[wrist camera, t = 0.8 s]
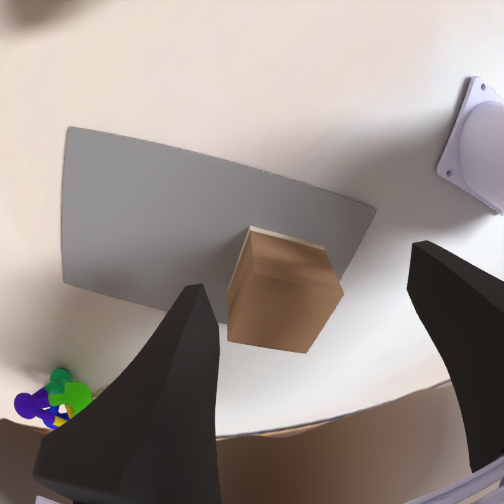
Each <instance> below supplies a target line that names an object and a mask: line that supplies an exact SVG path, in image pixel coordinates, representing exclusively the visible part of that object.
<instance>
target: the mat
mask: <svg viewBox="0 0 504 504" xmlns="http://www.w3.org/2000/svg"><path fill="white" fill-rule="evenodd" d="M376 211H377V210H376V209H375V208H373V207H370V206H367V205H365V204H362V203H359V202H356V201H354V200H351V199H348V198H345V197H343V196H340V195H337V194H334V193H331V192H328V191H325V190H322V189H319V188H316V187H313V186H310V185H307V184H304V183H301V182H298V181H295V180H292V179H289V178H286V177H282V176H279V175H276V174H273V173H269V172H266V171H263V170H259V169H256V168H252V167H249V166H245V165H242V164H238V163H235V162H231V161H227V160H224V159H220V158H216V157H213V156H209V155H205V154H201V153H197V152H193V151H189V150H185V149H181V148H177V147H172V146H168V145H164V144H159V143H155V142H150V141H146V140H141V139H136V138H131V137H126V136H121V135H116V134H111V133H106V132H100V131H95V130H89V129H83V128H77V127H71V126H70V127H68V131H67V139H66V148H65V158H64V170H63V186H62V216H61V234H62V264H63V280H64V283H67V284H70V285H73V286H76V287H80V288H83V289H87V290H90V291H93V292H97V293H100V294H104V295H108V296H111V297H115V298H118V299H122V300H126V301H130V302H134V303H137V304H141V305H145V306H149V307H153V308H157V309H161V310H166V311H169V310H170V308H171V307H172V305H173V304H174V302H175V301H176V299H177V298H178V296H179V295H180V293H181V292H182V290H183V289H184V287H185V286H188V285H194V284H200V283H203V285H204V288H205V291H206V293H207V296H208V299H209V302H210V304H211V307H212V310H213V312H214V315H215V318H216V321H217V322H219V323H224V324H228V287H229V284H230V281H231V278H232V275H233V272H234V270H235V267H236V264H237V261H238V258H239V255H240V252H241V250H242V247H243V244H244V241H245V238H246V235H247V233H248V230H249V227H250V226H253V227H257V228H261V229H264V230H268V231H272V232H276V233H279V234H283V235H287V236H290V237H294V238H298V239H301V240H305V241H309V242H312V243H316V244H319V245H323V247H324V249H325V252H326V254H327V256H328V258H329V261H330V263H331V265H332V267H333V269H334V272H335V274H336V276H337V279H338V281H340V279H341V277H342V275H343V274H344V272H345V270H346V268H347V266H348V265H349V263H350V261H351V259H352V257H353V255H354V253H355V252H356V250H357V248H358V246H359V244H360V242H361V240H362V238H363V236H364V234H365V233H366V231H367V229H368V227H369V225H370V223H371V221H372V219H373V217H374V215H375V213H376Z"/></svg>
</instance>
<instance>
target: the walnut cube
mask: <svg viewBox="0 0 504 504" xmlns="http://www.w3.org/2000/svg"><path fill="white" fill-rule="evenodd" d="M343 295H344V292H343V290H342V288H341V285H340V283H339V281H338V279H337V276H336V274H335V272H334V269H333V267H332V265H331V263H330V261H329V258H328V256H327V254H326V252H325V249H324V247H323V245H319V244H316V243H312V242H309V241H305V240H301V239H298V238H294V237H290V236H287V235H283V234H279V233H276V232H272V231H268V230H264V229H261V228H257V227H253V226H250V227H249V230H248V233H247V235H246V238H245V241H244V244H243V247H242V250H241V252H240V255H239V258H238V261H237V264H236V267H235V270H234V272H233V275H232V278H231V281H230V284H229V287H228V328H227V341H230V342H235V343H241V344H246V345H252V346H258V347H264V348H270V349H277V350H283V351H290V352H297V353H305V354H306V353H307V352H308V350H309V349H310V347H311V346H312V344H313V342H314V341H315V339H316V338H317V336H318V335H319V333H320V332H321V330H322V329H323V327H324V325H325V324H326V322H327V321H328V319H329V317H330V316H331V314H332V313H333V311H334V309H335V308H336V306H337V305H338V303H339V301H340V300H341V298H342V296H343Z"/></svg>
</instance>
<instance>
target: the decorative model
mask: <svg viewBox="0 0 504 504" xmlns="http://www.w3.org/2000/svg"><path fill="white" fill-rule="evenodd" d="M50 381H51V382H50V383H48V384H47V385H45V386H44V387H43V388H41V389H40V390H38V391H37V392H36V393H34V394H33V395H30V394H28V393H20V394H18V395H17V396H16V398H15V400H14V407H15V410H16V412H17V413H18V414H19V415H20V416H21V417H23V418H26V419H32V418H34V417H35V416H37V417H39V418H41V419H42V420H43V422H44V424H45V425H46V426H47V427H49V428H51V429H57V428H58V427H60V426H61V425H63V424H64V423H66V422H67V421H68V420H70V419H71V418H72V417H74V416H75V415H76V414H78V413H79V412H80V411H81V410H83V409H84V408H85V407H86V406H88V405H89V404H90V403H91V402H92V401H93V400H92V394H91V391H90V389H89V388H88V386H87V385H85V384H84V383H82V382H78V381H74V382H72V377H71V375H70V374H69V372H67V371H66V370H64V369H60V368H59V369H55V370H54V371H53V372H52V373H51V376H50ZM53 392H54V393H53ZM52 393H53V395H51V396H49V395H50V394H52ZM62 404H65V407H66V410H67V413H61V414H60V413H59V412H58V410H59V406H60V405H62ZM47 407H50V408H49V409H46V410H43V409H42V408H47Z"/></svg>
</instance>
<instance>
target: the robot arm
mask: <svg viewBox="0 0 504 504" xmlns="http://www.w3.org/2000/svg"><path fill="white" fill-rule="evenodd" d="M481 85H482V89H481ZM448 170H449V173H448V175H446V174H447V171H448ZM436 171H437V174H438V175H439V176H441V177H442V178H444V179H446V180H447V181H449V182H451V183H453V184H454V185H456V186H458V187H459V188H461V189H462V190H464V191H466V192H467V193H469V194H470V195H472V196H474V197H475V198H477V199H478V200H480V201H481V202H483V203H484V204H486V205H487V206H489V207H490V208H492V209H493V210H495V211H496V212H498V213H499V214H501V215H502V216H504V99H503V98H502V97H501V96H500V95H499V94H498V93H497V92H496V91H495V90H494V89H492V88H491V87H490V86H489V85H488V84H487V83H486V82H485V81H484V80H483V79H481V78H480V77H479V76H473V77H472V78H471V81H470V84H469V87H468V90H467V93H466V96H465V99H464V101H463V104H462V107H461V110H460V112H459V115H458V118H457V120H456V123H455V125H454V128H453V130H452V133H451V135H450V138H449V140H448V143H447V145H446V147H445V150H444V152H443V154H442V157H441V159H440V161H439V163H438V166H437V169H436ZM407 291H408V294H409V296H410V299H411V301H412V303H413V306H414V308H415V310H416V313H417V314H418V316H419V318H420V320H421V321H422V323H423V325H424V327H425V328H426V330H427V332H428V334H429V335H430V337H431V339H432V341H433V343H434V344H435V346H436V348H437V350H438V352H439V353H440V355H441V357H442V359H443V361H444V363H445V365H446V368H447V370H448V373H449V375H450V378H451V381H452V384H453V386H454V389H455V392H456V396H457V399H458V402H459V406H460V409H461V413H462V418H463V422H464V427H465V431H466V437H467V444H468V451H469V461H470V467H471V470H472V473H473V474H471V475H469V476H467V477H465V478H463V479H461V480H459V481H457V482H455V483H452V484H450V485H448V486H446V487H444V488H441V489H439V490H437V491H434V492H432V493H430V494H427V495H425V496H422V497H419V498H417V499H414V500H412V501H409V502H406V503H403V504H456V503H458V502H460V501H462V500H464V499H466V498H468V497H470V496H472V495H474V494H475V493H477V492H479V491H481V490H483V489H485V488H486V487H488V486H490V485H491V484H493V483H495V482H497V481H498V480H500V479H501V478H502V479H501V481H500V484H499V487H498V488H497V489H496V490H494V491H493V492H491V493H489V494H487V495H486V496H484V497H482V498H480V499H478V500H476V501H475V502H473V503H471V504H504V281H502V280H500V279H498V278H496V277H494V276H492V275H490V274H488V273H486V272H485V271H483V270H481V269H479V268H477V267H476V266H474V265H472V264H470V263H469V262H467V261H465V260H463V259H462V258H460V257H458V256H456V255H455V254H453V253H451V252H449V251H447V250H446V249H444V248H442V247H440V246H438V245H436V244H434V243H432V242H430V241H427V240H426V241H421V242H416V243H412V251H411V260H410V269H409V276H408V283H407ZM219 356H220V344H219V326H218V323H217V321H216V318H215V315H214V312H213V310H212V307H211V304H210V302H209V299H208V296H207V293H206V291H205V288H204V285H203V283H200V284H194V285H188V286H185V287H184V289H183V290H182V292H181V293H180V295H179V296H178V298H177V299H176V301H175V302H174V304H173V305H172V307H171V308H170V310H169V311H168V313H167V314H166V316H165V317H164V319H163V320H162V322H161V323H160V325H159V326H158V328H157V329H156V331H155V332H154V333H153V335H152V336H151V337H150V339H149V340H148V341H147V343H146V344H145V346H144V347H143V348H142V350H141V351H140V352H139V353H138V355H137V356H136V357H135V358H134V360H133V361H132V362H131V363H130V364H129V365H128V366H127V368H126V369H125V370H124V371H123V372H122V373H121V374H120V375H119V376H118V377H117V379H116V380H115V381H113V382H112V383H111V384H110V385H109V386H108V387H107V388H106V389H105V390H104V391H103V392H102V393H101V394H100V395H99V396H98V397H97V398H96V399H95V400H93V401H92V402H91V403H90V404H89V405H88V406H86V407H85V408H84V409H83V410H81V411H80V412H79V413H78V414H76V415H75V416H74V417H72V418H71V419H70V420H68V421H67V422H66V423H64V424H63V425H61V426H60V427H58V428H57V429H55V430H54V431H52V432H50V433H49V434H47V435H46V436H44V437H42V439H41V443H40V446H39V450H38V453H37V457H36V460H35V464H34V468H33V472H32V475H33V477H34V478H35V480H36V481H38V482H39V483H41V484H42V485H44V486H46V487H47V488H49V489H51V490H53V491H55V492H57V493H59V494H61V495H63V496H65V497H67V498H69V499H71V500H73V504H222V501H221V494H220V485H219V476H218V467H217V453H216V435H215V405H216V392H217V381H218V369H219ZM35 504H60V503H58V502H55V501H52V500H49V499H46V498H43V497H41V496H37V498H36V503H35Z"/></svg>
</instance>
